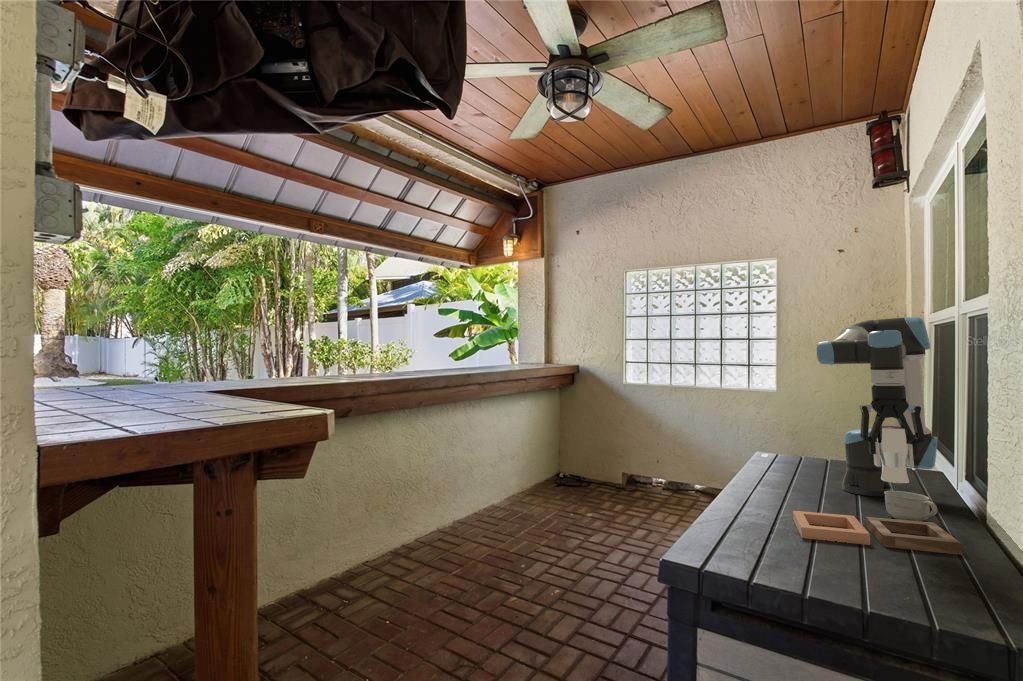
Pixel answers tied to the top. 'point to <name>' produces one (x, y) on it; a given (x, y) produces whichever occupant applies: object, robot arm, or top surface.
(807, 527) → the terracotta holder
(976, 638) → the top surface
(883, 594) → the top surface
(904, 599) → the top surface
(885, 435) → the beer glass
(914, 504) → the teacup
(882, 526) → the walnut holder
